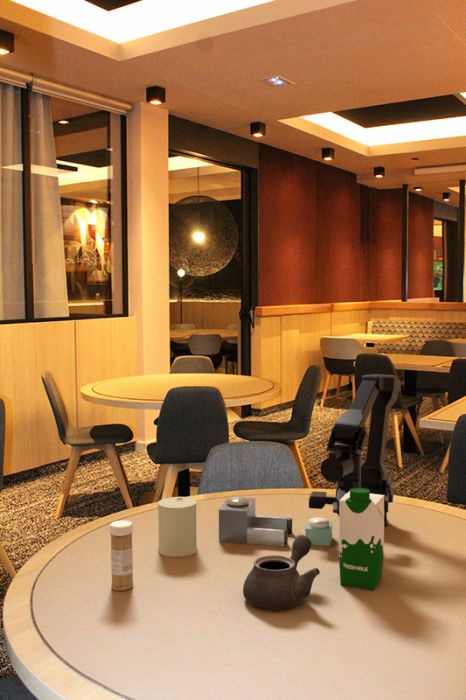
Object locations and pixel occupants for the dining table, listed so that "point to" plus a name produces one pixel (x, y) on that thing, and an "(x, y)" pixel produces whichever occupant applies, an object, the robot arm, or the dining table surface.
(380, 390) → the robot arm
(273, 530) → the motor mount
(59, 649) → the dining table surface
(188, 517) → the can
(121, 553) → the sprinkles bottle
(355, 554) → the milk carton
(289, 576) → the teapot
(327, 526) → the teal cube with ball
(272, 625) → the dining table surface
